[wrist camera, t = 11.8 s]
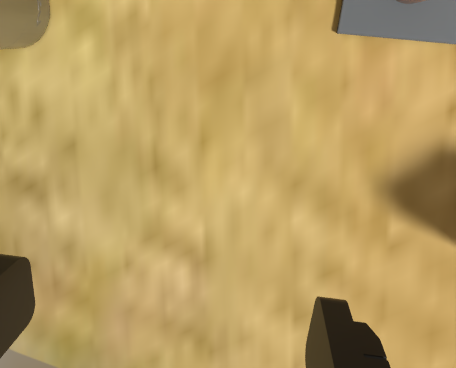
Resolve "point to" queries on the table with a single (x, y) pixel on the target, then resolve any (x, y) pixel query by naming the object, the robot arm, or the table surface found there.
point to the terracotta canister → (410, 1)
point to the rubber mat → (400, 20)
